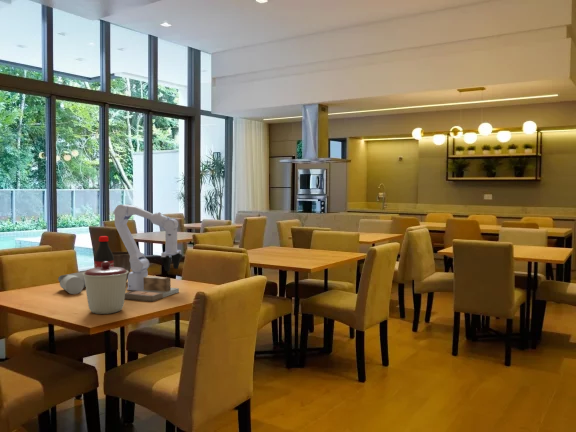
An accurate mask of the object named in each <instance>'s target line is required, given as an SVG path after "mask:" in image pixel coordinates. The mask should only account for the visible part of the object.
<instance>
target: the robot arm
mask: <svg viewBox="0 0 576 432" xmlns="http://www.w3.org/2000/svg"><path fill="white" fill-rule="evenodd" d="M113 214H114V226H115V228H116V230H117V232H118V234H119V237H120V239H121V241H122V242H123V245H124V246H125V249H126V252H128V253H129V255H130V259H129V261H130V263H131V269H130V270H131V271H130V273H129V275H128V279H127V288H126V290H127V291H134V290H136V291H139V290H142V289H144V277H147V276H149V275H148V273H149V272H148V268H149V267H150V260H149V259H148V258H147V257H146V256H145V254H143V253H142V252H141V251H140V249H139V247H138V245H137V242H136V240H135V238H134V237H133V235H132V232H131V231H130V229H129V226H128V222H129V221H130V220H129V219H130V218H131V217H132V216H134V215H137V216H139V217H142V218H145V219H147V220H149V221H150V222H151V224H153V225H156V226H158V227H161V228H164V230H165V233H164V235H165V251H163V252H161V256H159V257H160V258H159V259H160V260H161V262H162V264H163V269H164V271H165V272H170V269H171V261H172V265H173V266H172V267H173V269H174V270H177V269H179V266H180V262H181V260H182V258H183V254H182V250H181V249H178V227H179V224H180V223H179V221H178V219H176V218H174V217H172V218H171V217H170V216H166V215H164V214H162V213H161V212H154V213H152V212H150V211H148V210H145V209H143V208H141V207H138V206H136V205H133V204H129V203H127V204H126V203H125V204H117V206H115V209H114V210H113Z"/></svg>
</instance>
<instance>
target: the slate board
mask: <svg viewBox="0 0 576 432" xmlns="http://www.w3.org/2000/svg"><path fill="white" fill-rule="evenodd" d="M179 289H180V288H178V287H171V290H169V291H155V290H144V289H142V290H139V291H143V292H147V293H148V292H154V293H163V298H166V297H169V296H172V295H175V294H178V293H179V292H180V291H179Z"/></svg>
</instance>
